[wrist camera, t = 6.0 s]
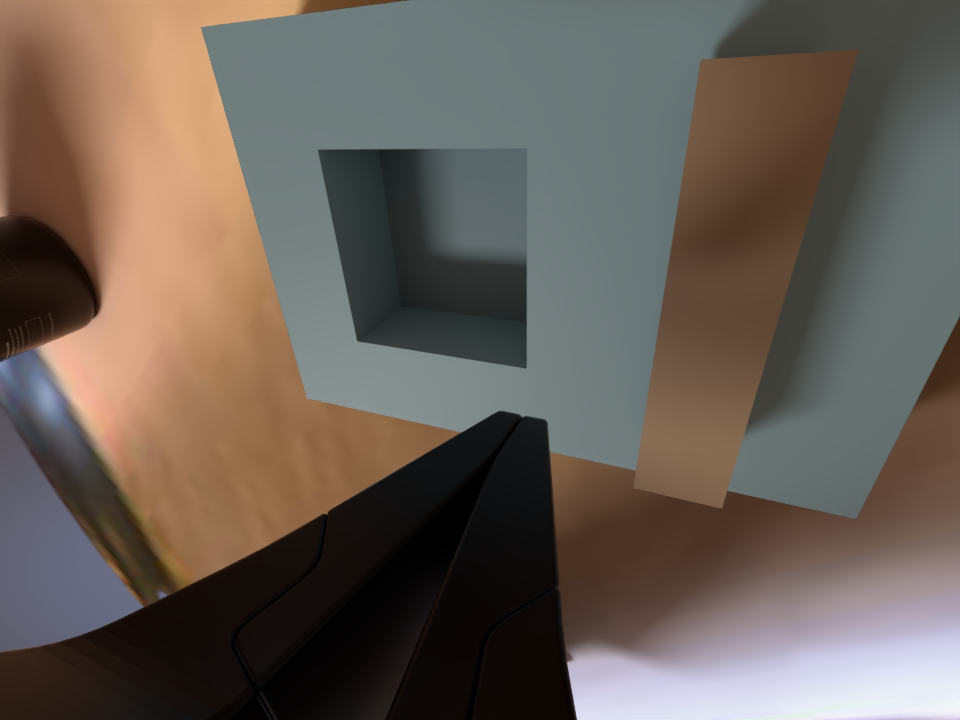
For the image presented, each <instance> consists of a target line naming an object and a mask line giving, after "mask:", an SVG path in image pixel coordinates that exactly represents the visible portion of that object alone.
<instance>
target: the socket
mask: <svg viewBox="0 0 960 720" xmlns="http://www.w3.org/2000/svg"><path fill="white" fill-rule="evenodd" d="M201 29H202V33H203V36H204V40H205V43H206V47H207V50H208V54H209V57H210V61H211V64H212V68H213V71H214V75H215V78H216V82H217V85H218V89H219V92H220V96H221V99H222V103H223V106H224V110H225V113H226V117H227V120H228V124H229V127H230V131H231V134H232V138H233V141H234V145H235V148H236V152H237V155H238V159H239V162H240V165H241V169H242V172H243V176H244V179H245V183H246V186H247V190H248V193H249V197H250V200H251V204H252V207H253V211H254V214H255V218H256V221H257V225H258V228H259V232H260V235H261V239H262V242H263V246H264V249H265V253H266V256H267V260H268V263H269V267H270V270H271V274H272V277H273V281H274V284H275V288H276V291H277V295H278V298H279V302H280V305H281V309H282V312H283V316H284V319H285V323H286V326H287V330H288V333H289V337H290V340H291V344H292V347H293V351H294V354H295V358H296V361H297V365H298V368H299V372H300V375H301V379H302V382H303V386H304V389H305V393H306V396H307V398H308V399H313V400H317V401H322V402H326V403H331V404H335V405H340V406H344V407H349V408H354V409H358V410H363V411H367V412H372V413H376V414H381V415H385V416H390V417H394V418H399V419H403V420H408V421H413V422H417V423H422V424H426V425H431V426H435V427H440V428H444V429H449V430H453V431H458V432H463V431H465V430H467V429H468V428H470V427H472V426H473V425H475V424H477V423H478V422H480V421H482V420H484V419H485V418H487V417H489V416H490V415H492V414H494V413H495V412H498V411H506V412H511V413H516V414H520V415H521V416H522V417H524V416H531V417H536V418H541V419H545V420H546V421H547V422H548V433H549V447H550V452H553V453H558V454H562V455H567V456H571V457H576V458H580V459H585V460H590V461H594V462H599V463H603V464H608V465H612V466H617V467H621V468H626V469H630V470H635V471H636V467H637V461H638V454H639V448H640V442H641V435H642V429H643V423H644V416H645V410H646V404H647V397H648V391H649V385H650V378H651V372H652V366H653V359H654V353H655V347H656V340H657V334H658V328H659V321H660V315H661V309H662V302H663V296H664V290H665V283H666V277H667V271H668V264H669V258H670V252H671V245H672V239H673V233H674V226H675V220H676V214H677V207H678V201H679V195H680V188H681V182H682V176H683V169H684V163H685V157H686V150H687V144H688V138H689V131H690V125H691V118H692V112H693V106H694V99H695V93H696V87H697V80H698V74H699V68H700V61H701V60H704V59H720V58H735V57H751V56H767V55H782V54H798V53H813V52H829V51H844V50H859V51H858V54H857V58H856V61H855V64H854V68H853V71H852V74H851V78H850V81H849V84H848V88H847V91H846V94H845V98H844V101H843V104H842V108H841V111H840V115H839V118H838V121H837V125H836V128H835V131H834V135H833V138H832V141H831V145H830V148H829V151H828V155H827V158H826V161H825V165H824V168H823V172H822V175H821V178H820V182H819V185H818V188H817V192H816V195H815V198H814V202H813V205H812V208H811V212H810V215H809V219H808V222H807V225H806V229H805V232H804V235H803V239H802V242H801V245H800V249H799V252H798V255H797V259H796V262H795V265H794V269H793V272H792V276H791V279H790V282H789V286H788V289H787V292H786V296H785V299H784V302H783V306H782V309H781V312H780V316H779V319H778V322H777V326H776V329H775V333H774V336H773V339H772V343H771V346H770V349H769V353H768V356H767V359H766V363H765V366H764V369H763V373H762V376H761V380H760V383H759V386H758V390H757V393H756V396H755V400H754V403H753V406H752V410H751V413H750V416H749V420H748V423H747V426H746V430H745V433H744V437H743V440H742V443H741V447H740V450H739V453H738V457H737V460H736V463H735V467H734V470H733V473H732V477H731V480H730V483H729V487H728V490H727V491H730V492H735V493H739V494H744V495H748V496H753V497H757V498H762V499H767V500H771V501H776V502H780V503H785V504H789V505H794V506H798V507H803V508H807V509H812V510H817V511H821V512H826V513H830V514H835V515H839V516H844V517H848V518H853V519H857V517H858V515H859V513H860V511H861V509H862V507H863V505H864V503H865V501H866V499H867V497H868V495H869V493H870V491H871V489H872V487H873V485H874V483H875V481H876V479H877V477H878V475H879V473H880V472H881V470H882V468H883V466H884V464H885V462H886V460H887V458H888V456H889V454H890V452H891V450H892V448H893V446H894V444H895V442H896V440H897V438H898V436H899V434H900V432H901V430H902V428H903V427H904V425H905V423H906V421H907V419H908V417H909V415H910V413H911V411H912V409H913V407H914V405H915V403H916V401H917V399H918V397H919V395H920V393H921V391H922V389H923V387H924V385H925V383H926V381H927V380H928V378H929V376H930V374H931V372H932V370H933V368H934V366H935V364H936V362H937V360H938V358H939V356H940V354H941V352H942V350H943V348H944V346H945V344H946V342H947V340H948V338H949V336H950V334H951V333H952V331H953V329H954V327H955V325H956V323H957V321H958V319H959V317H960V0H407V1H400V2H392V3H384V4H376V5H369V6H361V7H353V8H345V9H338V10H330V11H322V12H315V13H307V14H299V15H291V16H284V17H276V18H268V19H260V20H253V21H245V22H237V23H230V24H222V25H214V26H206V27H201Z"/></svg>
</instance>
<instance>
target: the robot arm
mask: <svg viewBox="0 0 960 720" xmlns="http://www.w3.org/2000/svg"><path fill="white" fill-rule="evenodd" d="M559 586H560V585H559V572H558V558H557V544H556V530H555V516H554V502H553V488H552V474H551V461H550V447H549V433H548V422H547V421H546V420H545V419H541V418H536V417H531V416H524V417H522V416H521V415H520V414H516V413H511V412H506V411H498V412H495V413H494V414H492V415H490V416H489V417H487V418H485V419H484V420H482V421H480V422H478V423H477V424H475V425H473V426H472V427H470V428H468V429H467V430H465V431H463V432H461V433H460V434H458V435H456V436H455V437H453V438H451V439H450V440H448V441H446V442H444V443H443V444H441V445H439V446H438V447H436V448H434V449H433V450H431V451H429V452H428V453H426V454H424V455H422V456H421V457H419V458H417V459H416V460H414V461H412V462H411V463H409V464H407V465H405V466H404V467H402V468H400V469H399V470H397V471H395V472H394V473H392V474H390V475H388V476H387V477H385V478H383V479H382V480H380V481H378V482H377V483H375V484H373V485H371V486H370V487H368V488H366V489H365V490H363V491H361V492H360V493H358V494H356V495H354V496H353V497H351V498H349V499H348V500H346V501H344V502H343V503H341V504H339V505H337V506H336V507H334V508H332V509H331V510H329V511H328V514H327V515H326V514H322V515H320V516H318V517H317V518H315V519H313V520H312V521H310V522H308V523H307V524H305V525H303V526H301V527H300V528H298V529H296V530H294V531H293V532H291V533H289V534H287V535H285V536H284V537H282V538H280V539H278V540H277V541H275V542H273V543H271V544H269V545H268V546H266V547H264V548H262V549H260V550H258V551H256V552H254V553H252V554H250V555H248V556H246V557H244V558H243V559H241V560H239V561H237V562H235V563H233V564H231V565H229V566H227V567H225V568H223V569H221V570H219V571H217V572H215V573H213V574H211V575H209V576H207V577H205V578H203V579H201V580H199V581H196V582H194V583H192V584H190V585H188V586H186V587H184V588H182V589H180V590H178V591H176V592H174V593H172V594H170V595H168V596H166V597H164V598H162V599H160V600H158V601H156V602H154V603H152V604H150V605H147V606H145V607H143V608H141V609H139V610H137V611H135V612H133V613H131V614H129V615H127V616H125V617H123V618H121V619H119V620H117V621H114V622H112V623H110V624H108V625H106V626H103V627H101V628H99V629H96V630H93V631H91V632H88V633H85V634H83V635H80V636H77V637H74V638H70V639H67V640H63V641H60V642H56V643H52V644H48V645H43V646H38V647H32V648H26V649H19V650H12V651H5V652H0V720H577V717H576V711H575V706H574V700H573V694H572V689H571V683H570V677H569V672H568V666H567V658H566V649H565V640H564V631H563V622H562V609H561V595H560V591H559Z"/></svg>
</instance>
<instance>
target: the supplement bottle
mask: <svg viewBox="0 0 960 720" xmlns="http://www.w3.org/2000/svg"><path fill="white" fill-rule="evenodd" d="M94 313H95V299H94V295H93V292H92V289H91V286H90V283H89V281H88V279H87V277H86V275H85V273H84V271H83V269H82V268H81V266H80V264H79V263H78V261H77V260H76V258H75V257H74V256H73V254H72V253H71V252H70V251H69V249H68V248H67V247H66V246H65V245H64V244H63V243H62V242H61V240H60V239H59V238H57V237H56V236H55V235H54V234H53V233H52V232H51V231H50V230H48V229H47V228H46V227H44V226H43V225H41V224H39V223H37V222H35V221H33V220H31V219H28V218H25V217H21V216H12V215H11V216H3V217H0V362H2V361H4V360H7V359H9V358H12V357H14V356H17V355H19V354H22V353H24V352H27V351H29V350H31V349H34V348H36V347H39V346H41V345H44V344H46V343H49V342H51V341H54V340H56V339H59V338H61V337H63V336H65V335H68V334H70V333H73V332H75V331H77V330H80V329H82V328H84V327H85V326H87V325H88V324H89V323H90V322H91V320H92V318H93V316H94Z"/></svg>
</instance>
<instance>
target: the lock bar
mask: <svg viewBox="0 0 960 720" xmlns="http://www.w3.org/2000/svg"><path fill="white" fill-rule="evenodd" d="M858 51H859V50H844V51H829V52H813V53H798V54H782V55H767V56H751V57H735V58H720V59H704V60H701V61H700V68H699V74H698V80H697V87H696V93H695V99H694V106H693V112H692V118H691V125H690V131H689V138H688V144H687V150H686V157H685V163H684V169H683V176H682V182H681V188H680V195H679V201H678V207H677V214H676V220H675V226H674V233H673V239H672V245H671V252H670V258H669V264H668V271H667V277H666V283H665V290H664V296H663V302H662V309H661V315H660V321H659V328H658V334H657V340H656V347H655V353H654V359H653V366H652V372H651V378H650V385H649V391H648V397H647V404H646V410H645V416H644V423H643V429H642V435H641V442H640V448H639V454H638V461H637V467H636V473H635V480H634V486H633V488H635V489H639V490H644V491H648V492H652V493H656V494H661V495H665V496H669V497H674V498H678V499H682V500H686V501H691V502H695V503H699V504H704V505H708V506H712V507H717V508H721V509H722V507H723V504H724V500H725V497H726V494H727V490H728V487H729V483H730V480H731V477H732V473H733V470H734V467H735V463H736V460H737V457H738V453H739V450H740V447H741V443H742V440H743V437H744V433H745V430H746V426H747V423H748V420H749V416H750V413H751V410H752V406H753V403H754V400H755V396H756V393H757V390H758V386H759V383H760V380H761V376H762V373H763V369H764V366H765V363H766V359H767V356H768V353H769V349H770V346H771V343H772V339H773V336H774V333H775V329H776V326H777V322H778V319H779V316H780V312H781V309H782V306H783V302H784V299H785V296H786V292H787V289H788V286H789V282H790V279H791V276H792V272H793V269H794V265H795V262H796V259H797V255H798V252H799V249H800V245H801V242H802V239H803V235H804V232H805V229H806V225H807V222H808V219H809V215H810V212H811V208H812V205H813V202H814V198H815V195H816V192H817V188H818V185H819V182H820V178H821V175H822V172H823V168H824V165H825V161H826V158H827V155H828V151H829V148H830V145H831V141H832V138H833V135H834V131H835V128H836V125H837V121H838V118H839V115H840V111H841V108H842V104H843V101H844V98H845V94H846V91H847V88H848V84H849V81H850V78H851V74H852V71H853V68H854V64H855V61H856V58H857V54H858Z"/></svg>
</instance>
